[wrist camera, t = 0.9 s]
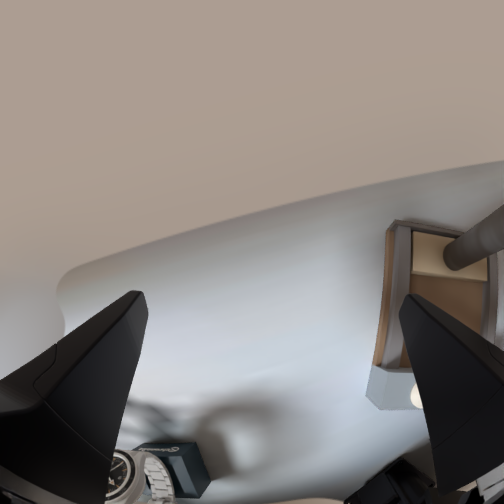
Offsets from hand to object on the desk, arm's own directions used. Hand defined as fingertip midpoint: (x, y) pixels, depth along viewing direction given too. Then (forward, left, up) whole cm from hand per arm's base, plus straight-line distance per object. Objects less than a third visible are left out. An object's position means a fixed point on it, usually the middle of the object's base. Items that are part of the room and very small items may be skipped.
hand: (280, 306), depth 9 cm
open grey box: (-9, -8, -12) cm, 17 cm away
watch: (-3, +16, -12) cm, 21 cm away
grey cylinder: (-7, -12, -11) cm, 17 cm away
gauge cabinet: (-12, -4, -12) cm, 17 cm away
